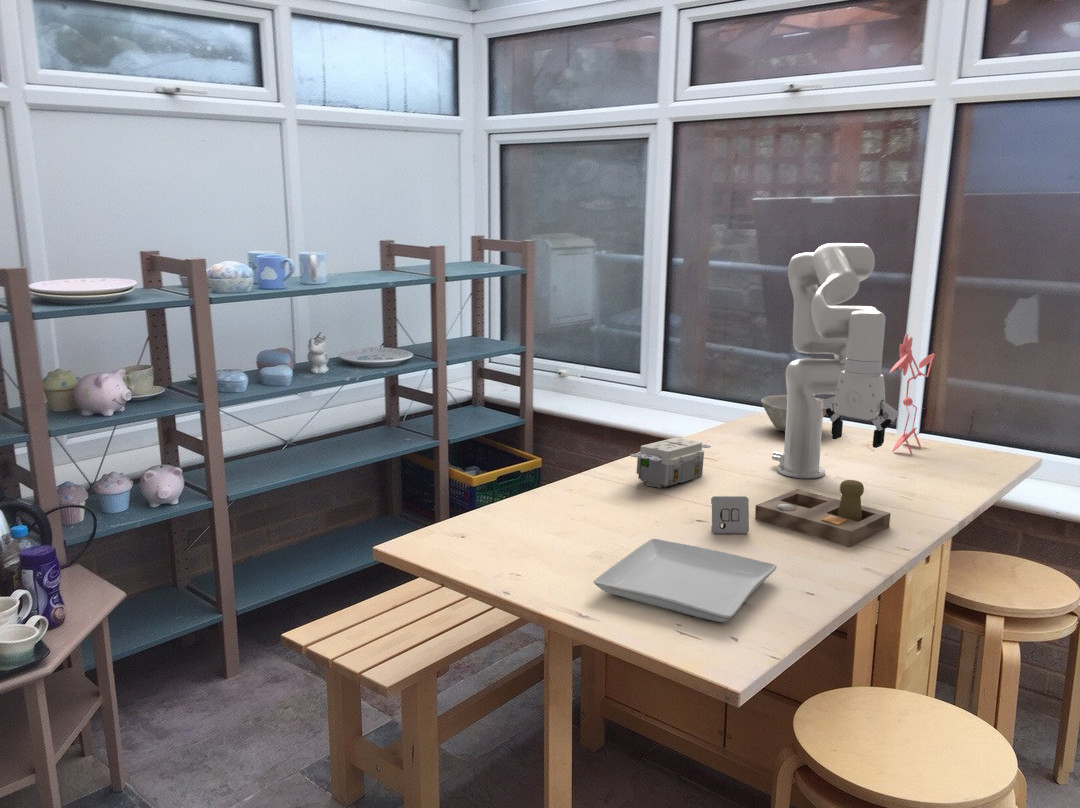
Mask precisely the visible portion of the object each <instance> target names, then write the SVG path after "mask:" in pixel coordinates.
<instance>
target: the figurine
mask: <svg viewBox="0 0 1080 808" xmlns="http://www.w3.org/2000/svg"><path fill="white" fill-rule="evenodd" d="M903 338H904V339H903V343H899V352H898V353H899V360H898V361H897V362H896V363H895V364H894V365H893V366H892V367H891V369H890V371H889V372H888V373H889V374H891V373H893V372H894V371H895V370H897V369H898V370H899V372H901V371H902V375H903V376H906V375H907V372H908V370H909V369H910V370H911V374H912V377H910V378H908V380H907V381H906V394H905V395H906V396H905V397H904V398H903V400H902V403H903V405H904V406H905V408H906V411H907V419H906V422H905V427H904V430H903V434H902V435H901V436H900V437H899V438H898V439H897V441H896V443H895V444H894V446H893V448H892V452H895V451H896V450H897V449H899V447H900V446H901V445H902V444H903V443H906V446H907V448H908V450H909V451H908V452H910V453H909V454H910V455H913V451H912V449H911V445H910V444H909V441H908V439H910V438H911V436H912V435H913V434H914V435H913V436H914V437H915V440H916V443H917V445H918V447H919V448H922V445H921V443H920V441H919V438H918V436H917V433H916V430H917V427H915V421H916V417H917V411H918V407H917V406H916V405H915V404H913V399H912V398H911V397H909V388H910V387H909V386H910V381H911V380H916V379H917V378H918V377H919V376H923V377H926V378H929V375H930V372H931V368H932V365H933V361H934V359H935V356H936V354H935V353H931V354H928V355H927V356H926V357H924V358H922V360H920V362H919V363H918V365H917V362H916V361H915V359H914V356H913V351H912V346H913V337H912V336H910V337H909V334H908V333H906V334H905V335H904V337H903ZM912 363H913V364H914V366H915V369H916V371H917V374H915V371H914V369H913V365H912ZM927 365H928V369H927V373H926V374H924V373H923V372H921V371H920V369H922V368H924V367H925V366H927ZM910 406H912V407H913V408H915V411H914V415H913V423H912V428H911V430H910V431H909V432H908V433H907V432H906V431H907V426H908V422H909V420H910V411H909V408H908V407H910ZM870 443H873V440H872V441H869V442H866V444H867V446H866V447H867V448H868V449H869V450H871V451H872V452H875V450H874V449H871V448H870V447H869V444H870ZM923 443H924V444H930V443H929V442H925V441H924V442H923Z"/></svg>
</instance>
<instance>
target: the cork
mask: <svg viewBox="0 0 1080 808" xmlns="http://www.w3.org/2000/svg"><path fill="white" fill-rule="evenodd" d="M864 492H865V486H864V484H863V483H862V482H861V481H860V480H859V481H858V480H856V479H855V480H854V479H846V480H843V481H841V482H840V485H839V493H840V494H841V496H840V500H841V501H840V505H839V510H838V514H837V516H839V517H843V518H847V519H850V520H854V521H858V522H859V521H862V511H861V505H862V498H861V497H862V496H863V494H864Z"/></svg>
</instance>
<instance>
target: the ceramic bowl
mask: <svg viewBox="0 0 1080 808" xmlns="http://www.w3.org/2000/svg"><path fill="white" fill-rule="evenodd" d="M815 399H816V400H817V401H818V403H819V404H820V405H821V407H822V410H823V418H825V416H826V415H827V413H826V409H825V407H824V404H823V400H825V399H824V398H820V397H815ZM761 404H762V407H763V409H764V411H765V413H766V415H767V416H768V418H769V420H770V422H771V424H772V425H773V426H774V427H775V428H776V429H778V430H779V431H782V432H784V433H785V431H786V414H787V394H783V395H782V394H781V395H779V394H776V395H768V396H764V397H762V398H761Z"/></svg>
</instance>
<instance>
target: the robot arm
mask: <svg viewBox="0 0 1080 808" xmlns="http://www.w3.org/2000/svg"><path fill="white" fill-rule="evenodd" d="M875 264H876V259H875V254H874V251H873V250H872V248H871V247H870V246H869V245H868V244H865V243H854V242H853V243H851V242H850V243H847V242H836V243H835V242H831V243H825V244H822V245H821V246H819V247H817V249H816V250H815V251H814V252H813V251H812V252H802V253H798V254H797V253H796V254H795V255H794V256H792V257H791V259H790V260H789V263H788V268H787V270H788V271H787V274H788V275H787V276H788V283H789V286H790V290H791V294H792V298H793V317H792V345H793V347H794V349H795V351H796V352H798V353H802V354H810V355H811V354H816V355H817V354H818V355H821V354H822V355H823V354H824V355H832V356H834V357H833V358H798V359H794V360H792V361H791V362H789V363H788V364H787V366H786V369H785V383H786V384H785V385H786V395H787V414H786V431H785V432H784V433H785V434H784V449H783V450H784V451H783V453H782V452H779V451H773V452H772V453H773V454H772V456H771V459H772V461H779V464H778V465H777V467H776V471H777V473H779V474H781V475H783V476H786V477H790V478H795V479H817V478H822V477H823V476H824V475H825V473H826V471H825V468H824V467H822V466H820V460H821V449H822V448H821V446H822V435H823V433H822V432H823V421H824V420H823V418H824V417H823V410H822V407H821V405H820V404H819V403H818V401H817V400H816V399H815V398H816V397H815V396H817V395H833V396H831V397H829V398H826V399H825V400H823V404H824V407H825V409H826V415H828V417H829V419H830V421H831V422H832V423H831V435H832V436H831V437H832V438H831V439H832V440H838V439H840V438H842V437H843V436H842V435H843V428H844V427H843V425H844V421H843V420H842V418H843V417H845V418H850V419H855V420H861V421H867V422H872V423H873V426H875V428H876V429H874V430H873V437H872V439H873V440H872V441H873V442H872V448H874V449H876V448H879V447H882V446H883V444H884V442H885V434H886V429H888V427H889V426H891V425H893V424H894V422H895V420H896V419H897V417H898V416H899V411H898V410H897V409H895V408H894V407H892V406H891V405H890V404H888V402H887V403H886V384H885V377H884V374H882V366H883V365H882V363H883V351H884V344H885V343H884V341H885V329H886V315H885V314H884V313H883V312H881V311H879V309H878V308H876V307H875V306H871V305H870V306H869V305H840V304H842V303H845V302H847V301H848V300H850V299H852V298H853V297H854V296H856V294H857V293H858V291H859V289H860V283H861V282H863V281H864V280H866V279H868V278H869V277H870V276H871V275H872V273H873V272H874V270H875ZM885 413H886V414H888V417H887V418H886V419H884V418H883V417H884V414H885Z"/></svg>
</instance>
